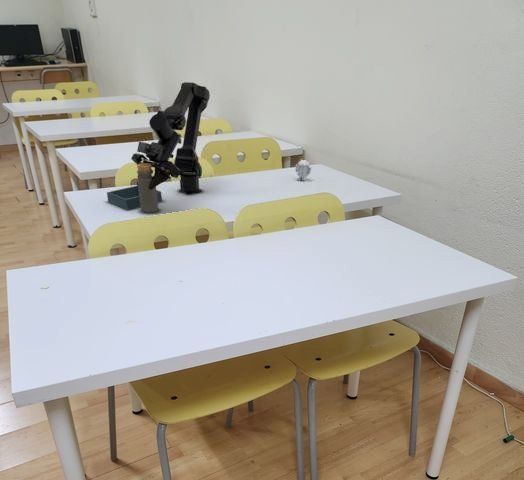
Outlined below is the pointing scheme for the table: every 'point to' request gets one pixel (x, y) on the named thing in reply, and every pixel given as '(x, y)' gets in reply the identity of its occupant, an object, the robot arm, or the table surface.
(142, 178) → the bottle
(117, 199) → the basin
